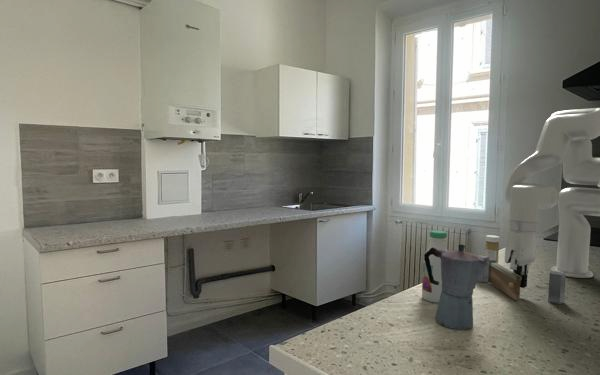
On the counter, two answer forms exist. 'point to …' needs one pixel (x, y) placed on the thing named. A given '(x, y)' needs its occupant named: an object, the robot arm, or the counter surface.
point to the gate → (504, 279)
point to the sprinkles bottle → (492, 247)
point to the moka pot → (456, 285)
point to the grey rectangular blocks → (555, 283)
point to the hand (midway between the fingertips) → (520, 286)
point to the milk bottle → (434, 268)
